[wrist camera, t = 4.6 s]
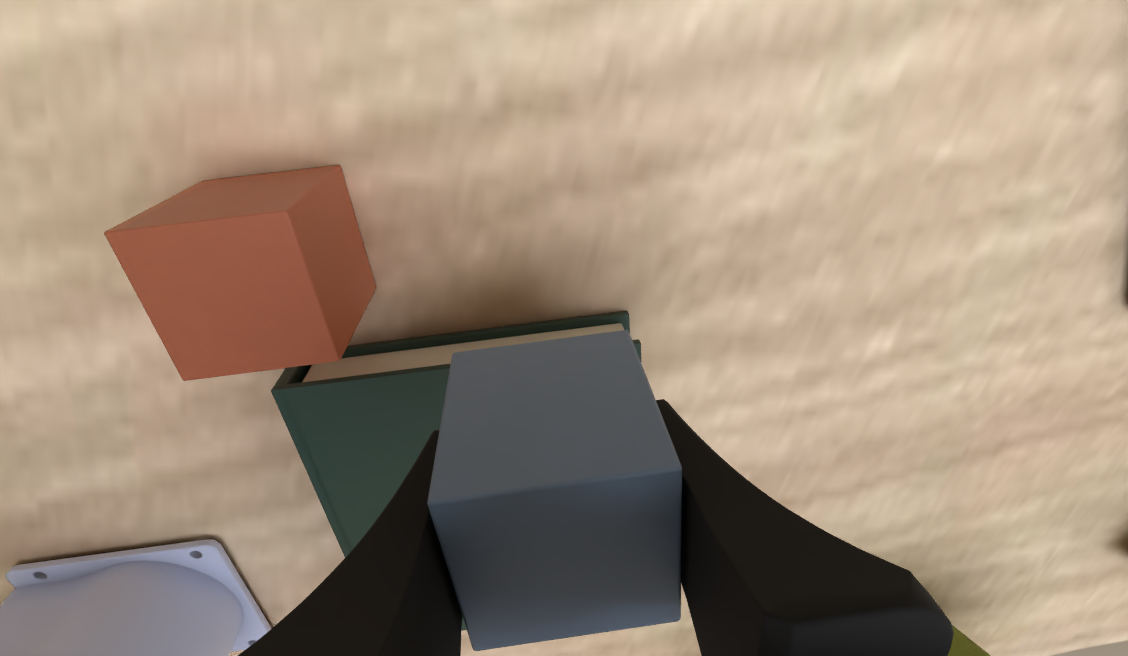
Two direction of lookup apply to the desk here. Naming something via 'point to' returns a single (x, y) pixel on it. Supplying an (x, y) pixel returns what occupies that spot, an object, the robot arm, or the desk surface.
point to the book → (388, 412)
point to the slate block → (557, 492)
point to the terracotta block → (250, 271)
